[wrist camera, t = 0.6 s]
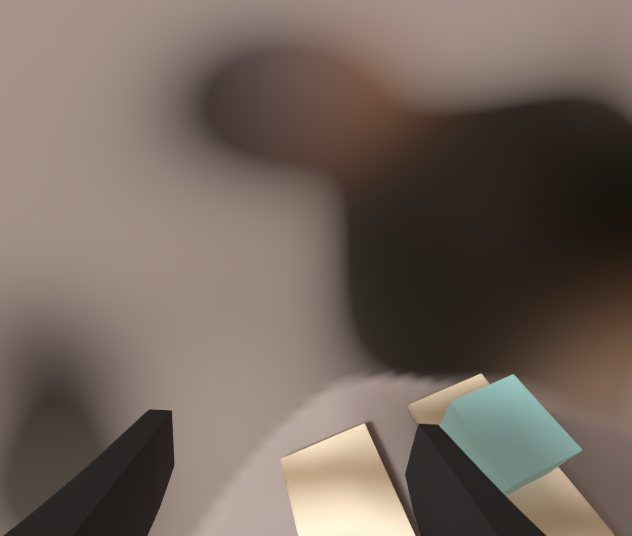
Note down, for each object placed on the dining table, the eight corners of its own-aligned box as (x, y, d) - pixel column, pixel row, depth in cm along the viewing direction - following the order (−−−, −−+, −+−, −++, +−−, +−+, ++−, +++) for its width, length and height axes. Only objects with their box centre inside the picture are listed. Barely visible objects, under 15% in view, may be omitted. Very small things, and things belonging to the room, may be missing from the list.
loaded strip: (823, 802, 13) (1004, 883, 9) (700, 915, 11) (852, 1060, 8) (478, 378, 27) (496, 344, 23) (408, 408, 26) (414, 377, 22)
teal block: (547, 474, 21) (582, 450, 17) (485, 506, 20) (509, 487, 17) (493, 405, 24) (513, 374, 21) (438, 429, 24) (450, 401, 20)
